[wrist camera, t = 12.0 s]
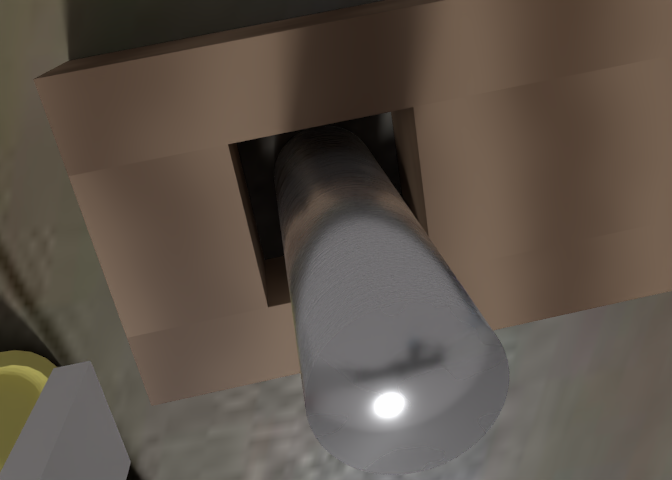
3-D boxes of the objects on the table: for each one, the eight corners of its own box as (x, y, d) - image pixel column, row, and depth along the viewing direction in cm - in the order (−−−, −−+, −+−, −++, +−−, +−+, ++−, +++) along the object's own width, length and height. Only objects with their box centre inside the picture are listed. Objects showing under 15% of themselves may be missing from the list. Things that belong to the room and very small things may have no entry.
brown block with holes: (922, -103, 24) (1045, -115, 20) (865, 194, 29) (956, 227, 25) (68, 60, 22) (33, 79, 18) (164, 346, 27) (151, 405, 23)
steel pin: (366, 115, 24) (503, 281, 11) (381, 211, 26) (514, 449, 13) (263, 136, 24) (285, 328, 11) (284, 232, 26) (325, 493, 13)
